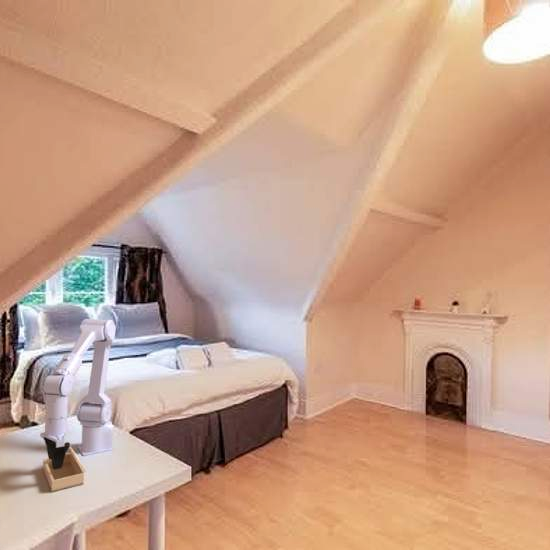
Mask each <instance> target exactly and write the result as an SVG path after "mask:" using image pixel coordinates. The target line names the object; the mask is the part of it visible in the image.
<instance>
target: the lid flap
mask: <svg viewBox="0 0 550 550" xmlns="http://www.w3.org/2000/svg"><path fill="white" fill-rule="evenodd" d="M65 443H68V441H66V442H65ZM68 450H69V451H70V454H71V453H72V455H73V456H74V458H75V460H76V462H77V463H78V465H79V466H80V468H81V470H82V472H83V473H86V469H85V468H84V466H83V464H82V463H81V460H80V458H79V457H78V455H77V454H76V452H75V451H74V449H73V448H72V446H71V445H70V447H69V448H68Z"/></svg>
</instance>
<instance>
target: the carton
mask: <svg viewBox="0 0 550 550" xmlns="http://www.w3.org/2000/svg"><path fill="white" fill-rule="evenodd" d="M42 470H43V473H44V476H45V478H46V481H47V484H48V486H49V489H50V491H51V493H56V492H58V491H59V492H60V491H63V490H66V489H70V488H74V487H80V486H83V485H84V484H85V483H84V482H85V481H84V480H85V479H84V478H85V472H83V470H82V469H81V467H80V466H79V464H78V463H77V462H76V460H75V458H74V456H73V455H72V453H71V452H70V453H66V454H65V458H64V462H63V465H62V468H60V469H55V470H54V469H53V466H52V459H49V457H48V458H43V460H42Z"/></svg>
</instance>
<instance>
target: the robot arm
mask: <svg viewBox="0 0 550 550" xmlns="http://www.w3.org/2000/svg"><path fill="white" fill-rule="evenodd" d="M114 322H115V321H113V320H112V319H93V318H92V319H90V318H84V319H83V320H82V321H81V323H80V326H79V329H78V331H79V336H78V338H77V339H76V341H75V343H74V345H73V347H72V349H71V351H70V352H69V353H67V354H64V356H63V357H61V360H60V361H59V363H58V365H57V366H56V368H55V370H54V371H53V372H52V374H49V375H47V376H46V377H44V379H43V380H42V383H41V386H40V388H41V389H40V391H41V393H42V395H43V400H44V402H45V415H44V421H45V422H44V432H41V433H39V434H40V435H39V437H40V438H43V441H44V443H45V445H46V450H47V451H46V452H47V457H48V458H49V459H52V466H53V469H54V470H55V469H60V468H62V465H63V462H64V458H65V455H66V454H67V452H68V450H69V447H70V446H71V443H70V442H68V441H67V442H68V443H66V442H65V439H66V437H67V436H68V432H69V430H68V411H69V409H68V406H69V395H70V393H71V392H72V390H73V388H74V387H73V386H74V382H75V376H76V375H77V373H78V371H79V370H80V368H81V366H82V365H83V361H82V358H83V356H84V355H85V354H86V353H87V352H88V350H89V349H90V347H91V345H92V346H93V355H92V356H93V357H92V363H91V371H90V377H89V384H88V392H87V394H86V395H85V396H83V397H81V399H80V401H79V404H78V407H77V409H76V410H77V411H76V419H77V421H78V422H79V423H80V425H81V430H82V431H81V445H79V446H77V447H78V450H79V451H80V453H81V455H82V456H83V457H86V456H90V455H94V454H95V455H96V454H99V453H103V452H109V451H112V450H114V447H113V446H114V445H113V444H114V443H113V441H114V440H113V439H114V426H113V423H112V421H111V420H110V419H111V417H112V414H113V413H112V411H113V410H112V400H111V398H110V397H108V396H107V395H106V394H105V389H106V383H107V382H106V381H107V375H108V367H109V359H110V352H111V345H113V344H114V343H115V337H116V329H117V327H116V324H115V323H114Z"/></svg>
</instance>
